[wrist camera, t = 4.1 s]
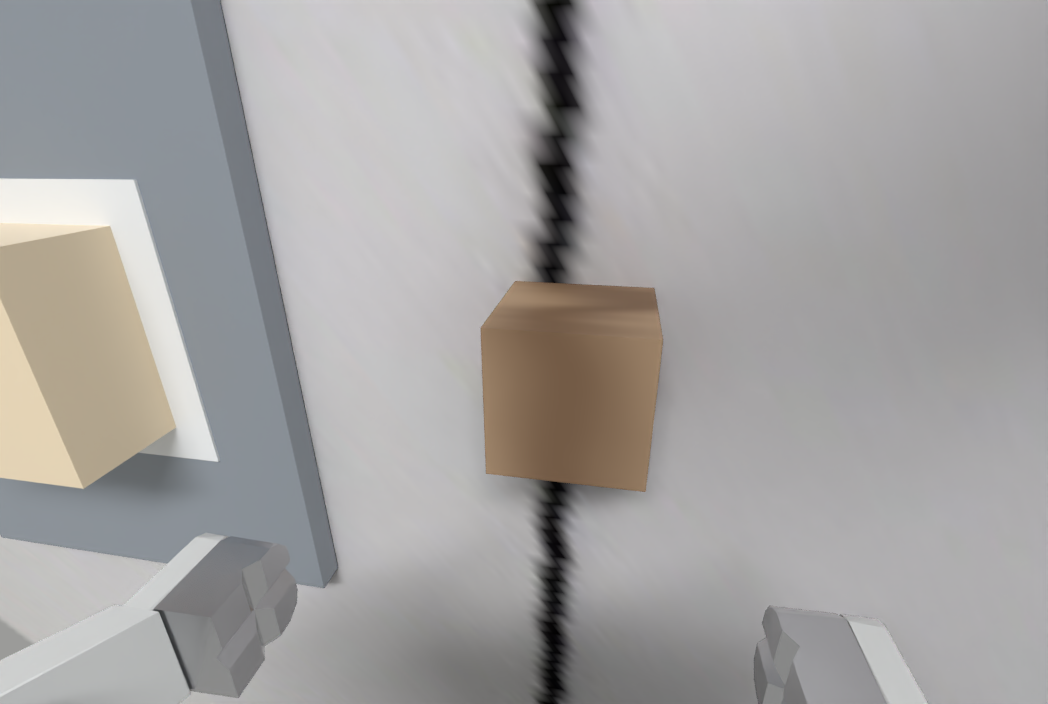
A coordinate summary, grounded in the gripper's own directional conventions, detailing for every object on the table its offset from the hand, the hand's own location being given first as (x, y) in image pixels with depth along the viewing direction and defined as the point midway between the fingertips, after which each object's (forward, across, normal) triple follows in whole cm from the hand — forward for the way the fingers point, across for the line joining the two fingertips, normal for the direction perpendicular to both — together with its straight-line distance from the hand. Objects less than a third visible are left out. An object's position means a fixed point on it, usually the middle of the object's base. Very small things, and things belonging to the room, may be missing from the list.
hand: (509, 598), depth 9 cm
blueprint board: (+10, +20, 0) cm, 22 cm away
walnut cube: (+10, 0, 0) cm, 10 cm away
